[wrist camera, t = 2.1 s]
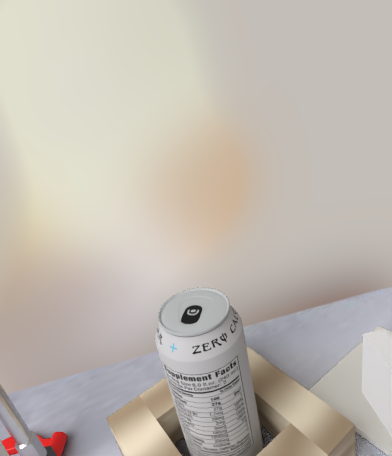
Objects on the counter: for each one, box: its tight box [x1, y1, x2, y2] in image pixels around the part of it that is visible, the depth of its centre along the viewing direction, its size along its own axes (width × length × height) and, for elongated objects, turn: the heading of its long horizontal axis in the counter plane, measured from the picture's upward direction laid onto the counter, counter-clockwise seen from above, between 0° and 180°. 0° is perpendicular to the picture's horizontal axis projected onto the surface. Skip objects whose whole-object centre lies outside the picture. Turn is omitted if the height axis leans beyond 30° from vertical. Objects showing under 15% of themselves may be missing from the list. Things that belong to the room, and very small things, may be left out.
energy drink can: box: [155, 288, 263, 456], centre depth 25 cm, size 6×6×15 cm
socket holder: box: [106, 346, 355, 456], centre depth 28 cm, size 14×14×4 cm
